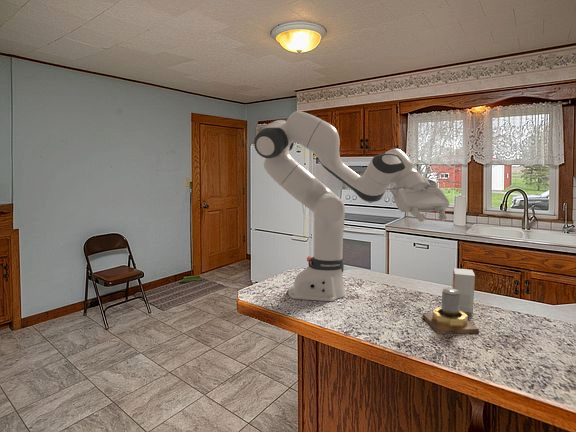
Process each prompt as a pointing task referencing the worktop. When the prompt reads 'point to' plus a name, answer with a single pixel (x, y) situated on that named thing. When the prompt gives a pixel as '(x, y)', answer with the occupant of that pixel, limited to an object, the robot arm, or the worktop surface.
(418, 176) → the robot arm
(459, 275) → the small box
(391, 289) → the worktop surface
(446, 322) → the ring
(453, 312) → the grey metal cylinder
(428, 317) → the board
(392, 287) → the worktop surface
